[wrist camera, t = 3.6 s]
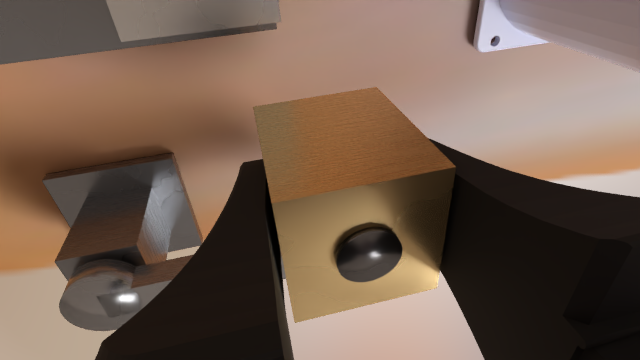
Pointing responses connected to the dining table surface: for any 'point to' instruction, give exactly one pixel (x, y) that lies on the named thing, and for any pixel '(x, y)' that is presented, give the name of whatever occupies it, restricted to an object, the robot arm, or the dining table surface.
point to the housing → (353, 200)
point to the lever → (116, 291)
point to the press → (132, 175)
